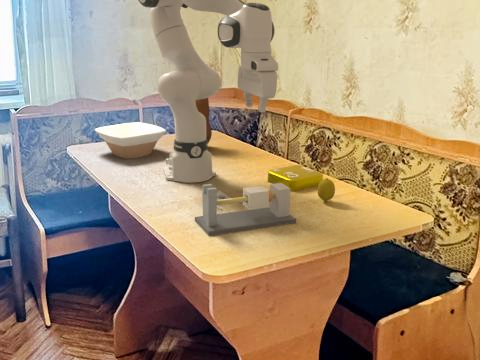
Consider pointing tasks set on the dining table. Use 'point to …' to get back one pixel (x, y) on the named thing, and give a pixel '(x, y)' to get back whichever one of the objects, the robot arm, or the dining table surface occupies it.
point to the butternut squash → (205, 114)
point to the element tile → (295, 177)
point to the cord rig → (244, 212)
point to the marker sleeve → (256, 197)
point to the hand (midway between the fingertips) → (255, 109)
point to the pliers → (221, 196)
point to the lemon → (326, 189)
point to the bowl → (131, 138)
